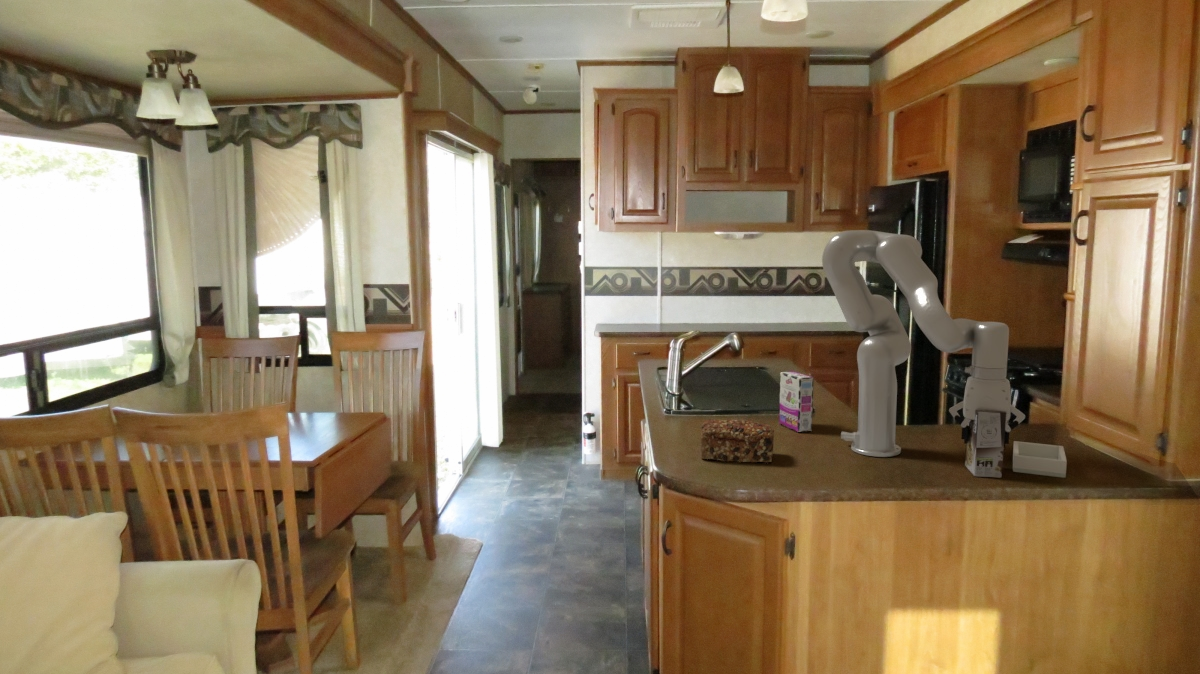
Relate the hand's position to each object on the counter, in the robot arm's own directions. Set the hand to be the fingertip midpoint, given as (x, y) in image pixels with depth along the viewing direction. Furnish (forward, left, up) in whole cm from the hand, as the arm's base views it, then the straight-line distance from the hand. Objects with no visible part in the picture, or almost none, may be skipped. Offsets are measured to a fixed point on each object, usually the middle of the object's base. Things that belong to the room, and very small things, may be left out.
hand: (984, 444), depth 185 cm
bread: (-58, -14, -7) cm, 60 cm away
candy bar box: (-51, +21, -7) cm, 56 cm away
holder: (+12, +10, -7) cm, 17 cm away
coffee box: (0, 0, -7) cm, 7 cm away
